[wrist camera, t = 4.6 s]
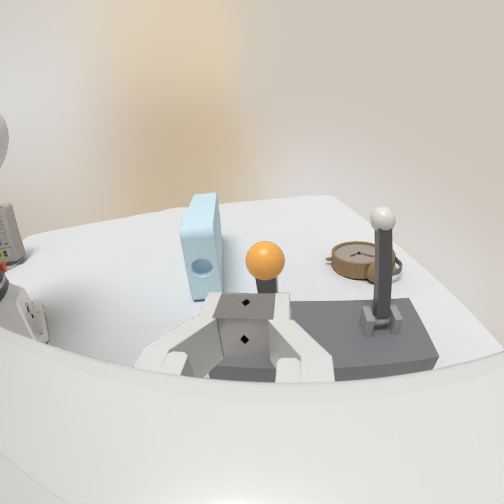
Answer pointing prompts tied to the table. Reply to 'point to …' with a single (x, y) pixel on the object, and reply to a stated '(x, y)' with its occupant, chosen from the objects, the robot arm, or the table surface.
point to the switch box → (349, 342)
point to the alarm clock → (358, 260)
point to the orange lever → (265, 265)
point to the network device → (10, 237)
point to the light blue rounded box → (203, 245)
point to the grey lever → (382, 263)
